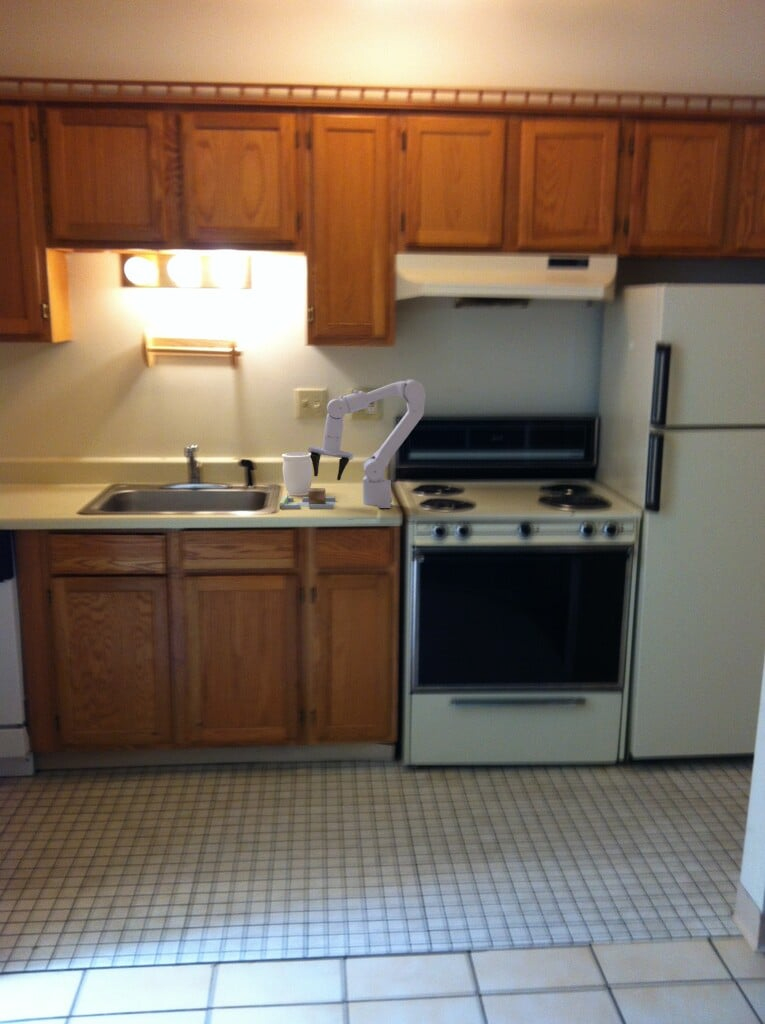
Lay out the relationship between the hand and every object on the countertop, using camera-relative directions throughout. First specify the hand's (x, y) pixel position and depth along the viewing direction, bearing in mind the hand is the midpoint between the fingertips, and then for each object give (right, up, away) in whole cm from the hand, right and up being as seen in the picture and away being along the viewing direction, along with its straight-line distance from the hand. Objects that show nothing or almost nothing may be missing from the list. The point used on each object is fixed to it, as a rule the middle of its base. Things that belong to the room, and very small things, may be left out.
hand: (327, 477), depth 275 cm
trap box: (-6, -10, +2) cm, 12 cm away
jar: (-11, -6, +21) cm, 25 cm away
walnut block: (-3, -9, +2) cm, 10 cm away
